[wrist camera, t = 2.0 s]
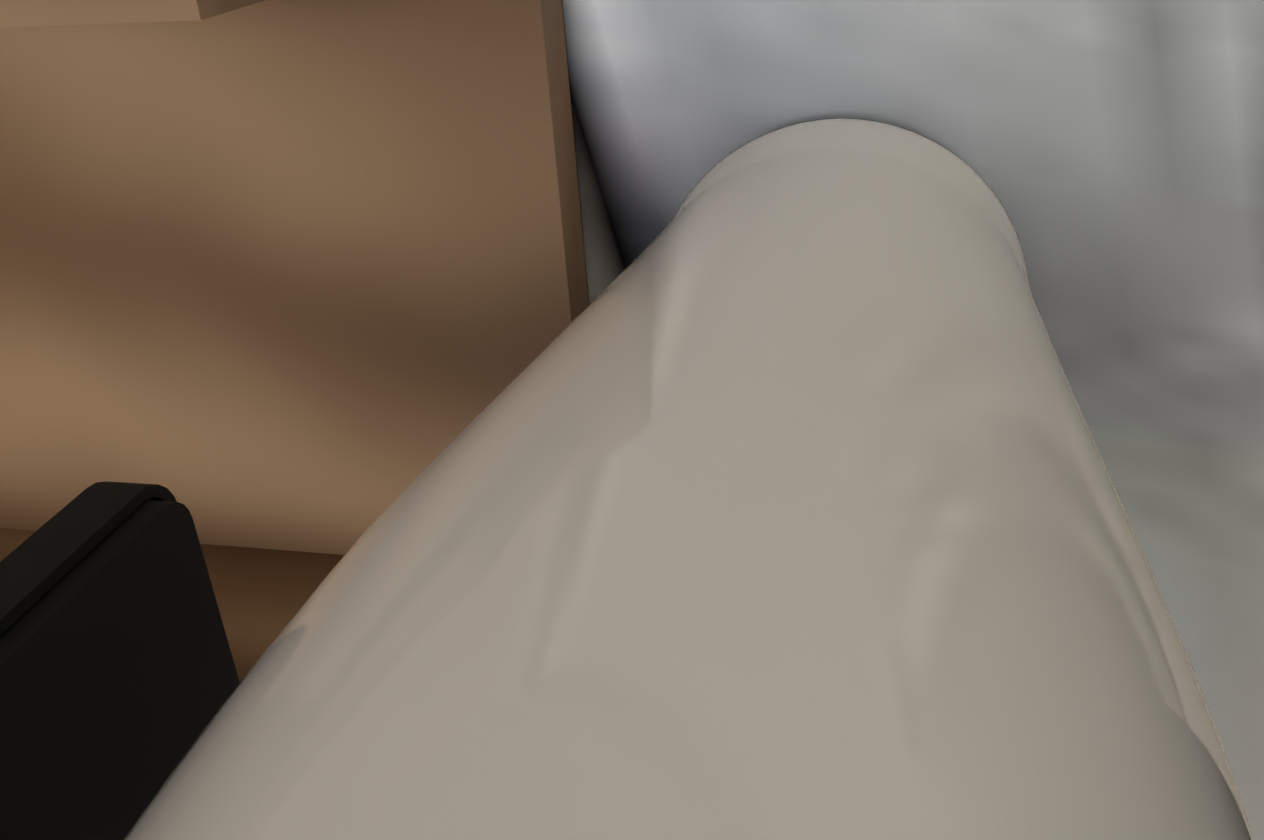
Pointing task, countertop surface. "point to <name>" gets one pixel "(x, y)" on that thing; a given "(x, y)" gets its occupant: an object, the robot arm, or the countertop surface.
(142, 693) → the robot arm
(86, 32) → the wooden open tray
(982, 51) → the countertop surface
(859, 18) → the countertop surface
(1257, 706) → the countertop surface
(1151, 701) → the drinking glass
